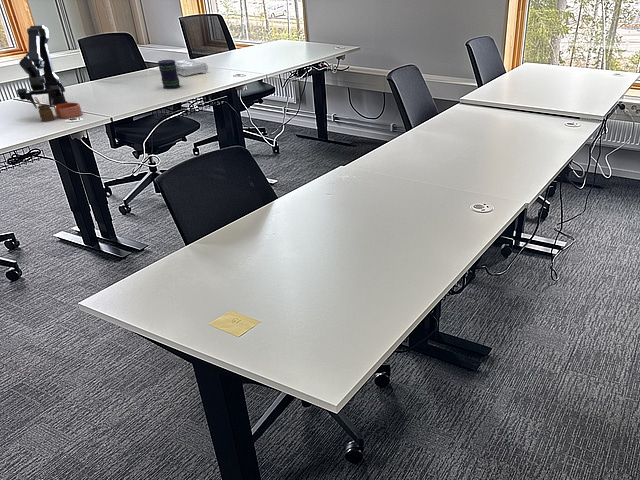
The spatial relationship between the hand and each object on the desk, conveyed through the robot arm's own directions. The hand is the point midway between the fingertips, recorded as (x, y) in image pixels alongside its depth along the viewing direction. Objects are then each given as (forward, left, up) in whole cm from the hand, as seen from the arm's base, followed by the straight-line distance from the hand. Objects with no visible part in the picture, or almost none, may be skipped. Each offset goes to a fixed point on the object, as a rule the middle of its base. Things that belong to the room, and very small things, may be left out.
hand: (43, 107), depth 283 cm
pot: (-12, -1, -7) cm, 13 cm away
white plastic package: (-115, -43, -7) cm, 123 cm away
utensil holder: (-1, -1, -7) cm, 7 cm away
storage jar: (-82, -12, -7) cm, 83 cm away
